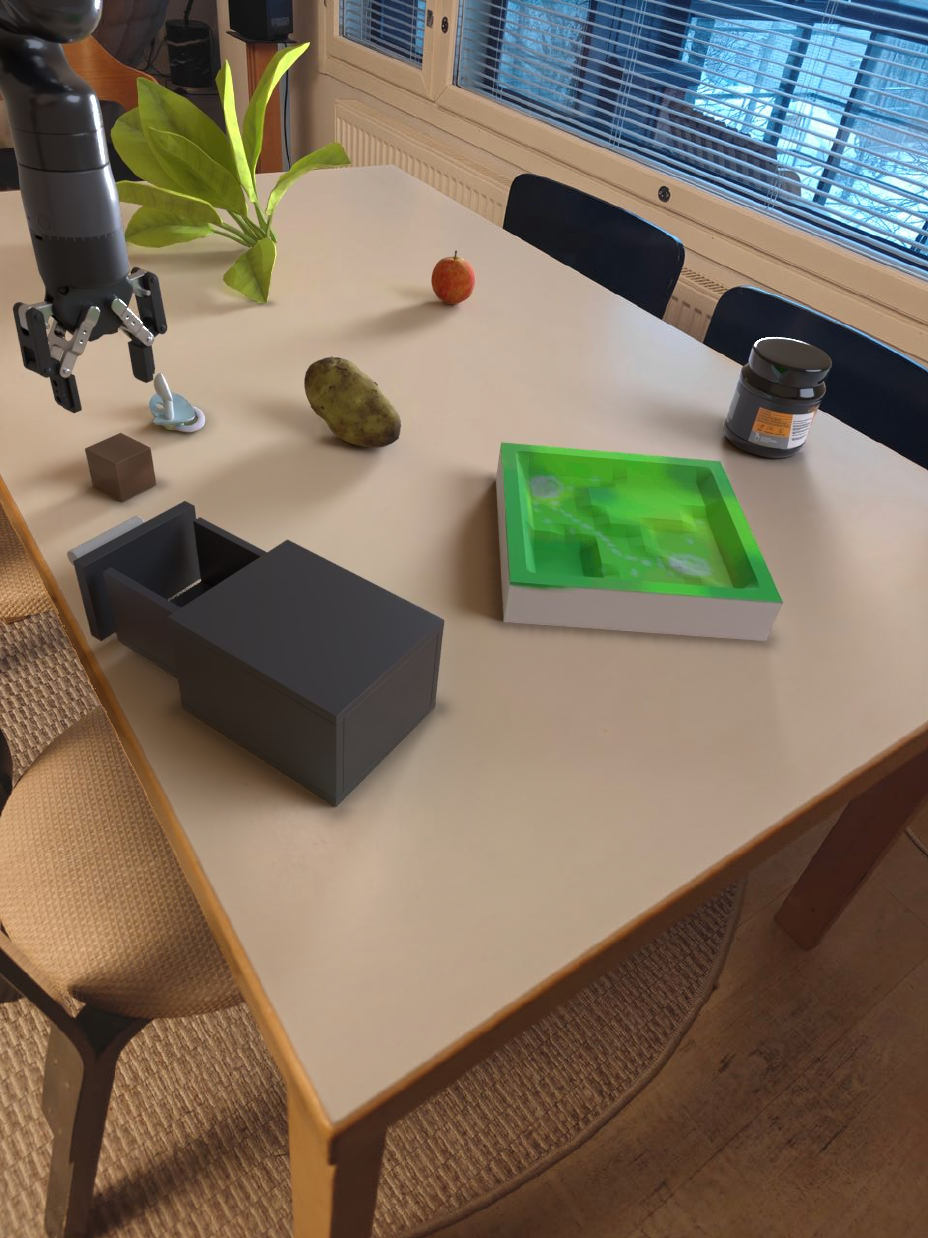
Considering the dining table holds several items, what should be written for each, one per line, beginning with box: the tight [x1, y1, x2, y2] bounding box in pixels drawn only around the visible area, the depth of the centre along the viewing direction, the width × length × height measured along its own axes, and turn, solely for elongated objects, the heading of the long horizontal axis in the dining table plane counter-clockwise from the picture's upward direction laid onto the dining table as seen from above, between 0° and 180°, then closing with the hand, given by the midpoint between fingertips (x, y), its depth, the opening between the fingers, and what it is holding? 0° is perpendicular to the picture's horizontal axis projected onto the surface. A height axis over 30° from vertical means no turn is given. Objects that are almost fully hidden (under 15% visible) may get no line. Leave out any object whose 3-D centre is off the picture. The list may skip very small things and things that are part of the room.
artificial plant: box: [110, 42, 352, 305], centre depth 133 cm, size 42×43×30 cm
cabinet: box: [168, 539, 446, 808], centre depth 66 cm, size 16×13×10 cm
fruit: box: [430, 250, 476, 306], centre depth 136 cm, size 7×7×8 cm
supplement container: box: [722, 337, 833, 459], centre depth 108 cm, size 10×10×12 cm
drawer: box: [66, 500, 268, 679], centre depth 71 cm, size 19×11×8 cm, turn 57°
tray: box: [495, 441, 784, 642], centre depth 88 cm, size 25×25×5 cm
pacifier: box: [148, 372, 206, 433], centre depth 99 cm, size 7×6×6 cm
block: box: [84, 432, 157, 503], centre depth 89 cm, size 4×4×4 cm
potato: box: [303, 355, 402, 448], centre depth 101 cm, size 8×13×8 cm, turn 34°
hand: (108, 394), depth 84 cm, fingers open, 8 cm apart
